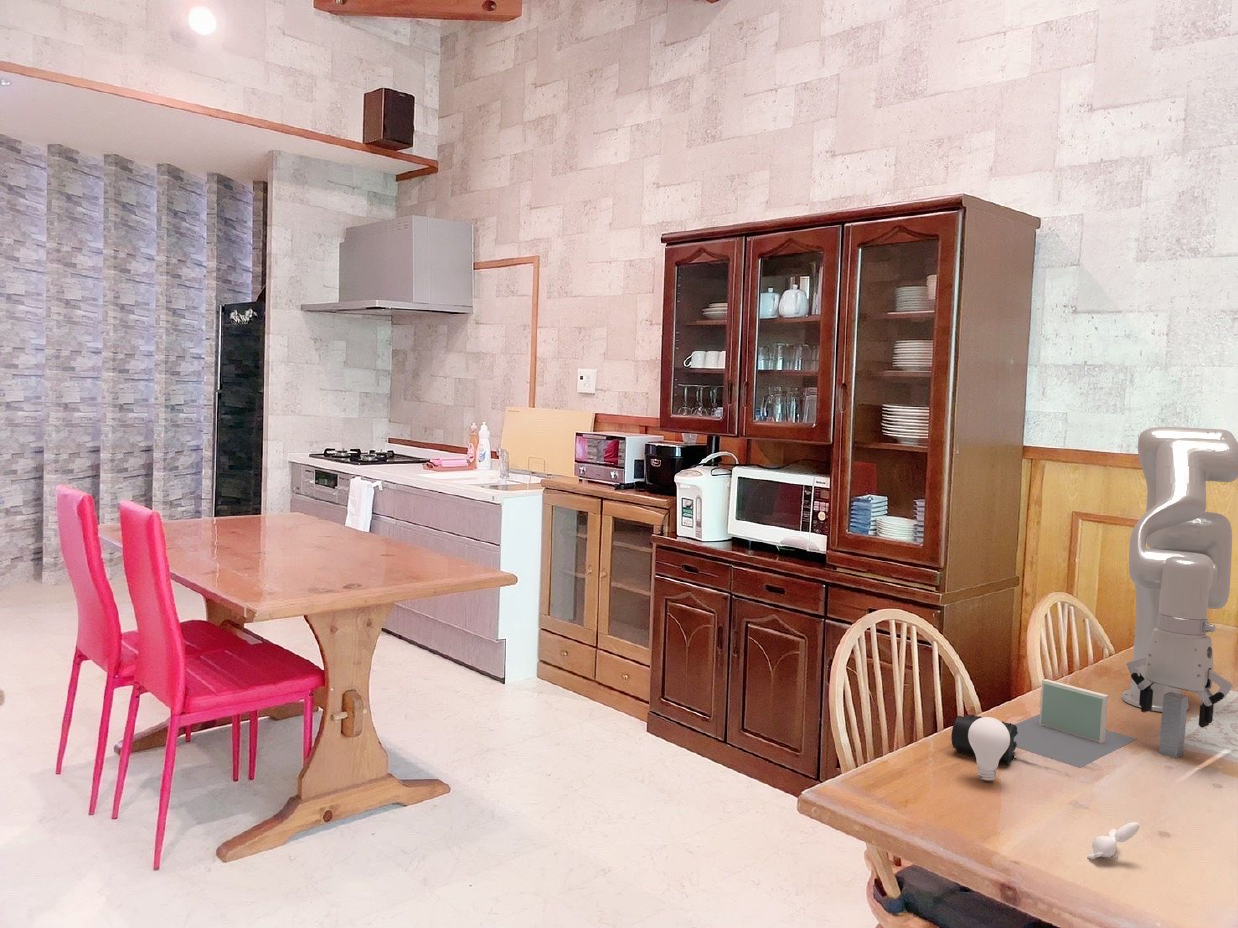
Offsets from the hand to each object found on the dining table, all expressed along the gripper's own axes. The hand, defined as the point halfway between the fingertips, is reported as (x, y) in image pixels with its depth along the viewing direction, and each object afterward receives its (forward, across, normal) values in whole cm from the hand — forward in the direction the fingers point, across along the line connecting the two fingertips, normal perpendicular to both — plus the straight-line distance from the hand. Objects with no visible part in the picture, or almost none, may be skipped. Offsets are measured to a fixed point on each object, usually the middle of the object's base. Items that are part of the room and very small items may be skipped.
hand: (1174, 718), depth 173 cm
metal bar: (+8, 0, -1) cm, 8 cm away
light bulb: (+9, +15, +37) cm, 41 cm away
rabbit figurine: (+9, -10, +47) cm, 49 cm away
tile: (+7, +16, +4) cm, 18 cm away
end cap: (+9, +21, +27) cm, 36 cm away
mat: (+8, +16, +8) cm, 20 cm away
